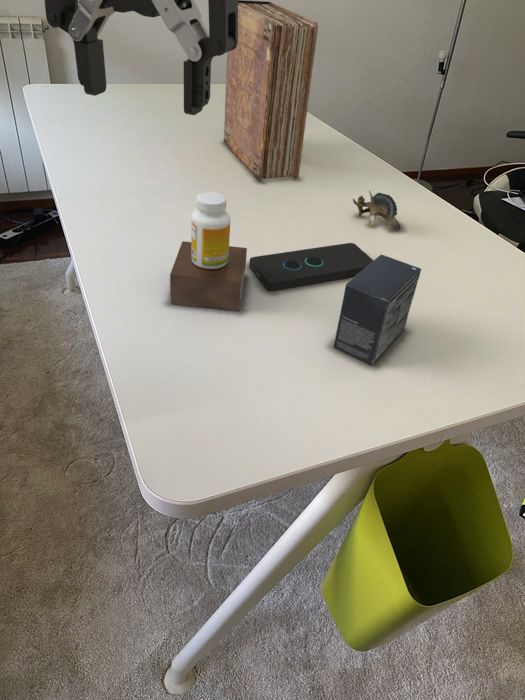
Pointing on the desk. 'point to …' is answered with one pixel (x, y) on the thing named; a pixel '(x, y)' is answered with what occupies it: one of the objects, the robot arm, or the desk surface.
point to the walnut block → (208, 281)
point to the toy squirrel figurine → (379, 209)
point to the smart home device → (309, 266)
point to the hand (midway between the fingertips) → (144, 102)
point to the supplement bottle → (210, 231)
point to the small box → (375, 308)
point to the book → (269, 88)
